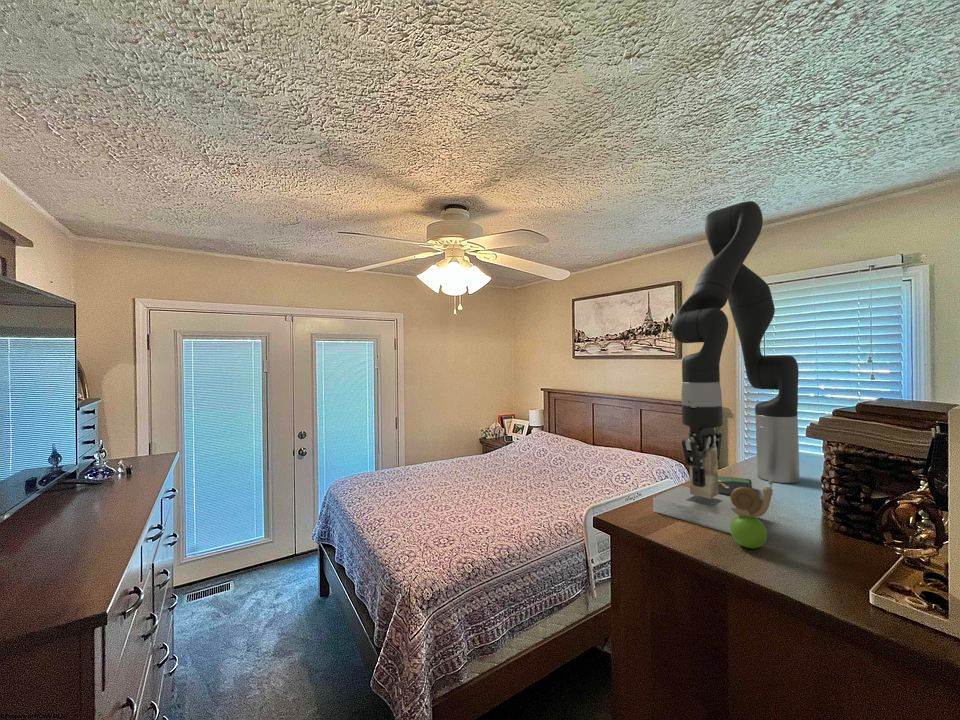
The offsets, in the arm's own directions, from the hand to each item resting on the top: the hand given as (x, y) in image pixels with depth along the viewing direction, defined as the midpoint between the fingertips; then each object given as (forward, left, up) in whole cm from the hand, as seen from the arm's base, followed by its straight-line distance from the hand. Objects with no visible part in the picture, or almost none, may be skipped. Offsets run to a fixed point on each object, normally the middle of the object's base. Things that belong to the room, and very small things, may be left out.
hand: (703, 483), depth 85 cm
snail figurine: (+9, +12, -7) cm, 17 cm away
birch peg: (0, 0, -2) cm, 2 cm away
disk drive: (-18, -2, -7) cm, 19 cm away
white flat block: (0, 0, -7) cm, 7 cm away
